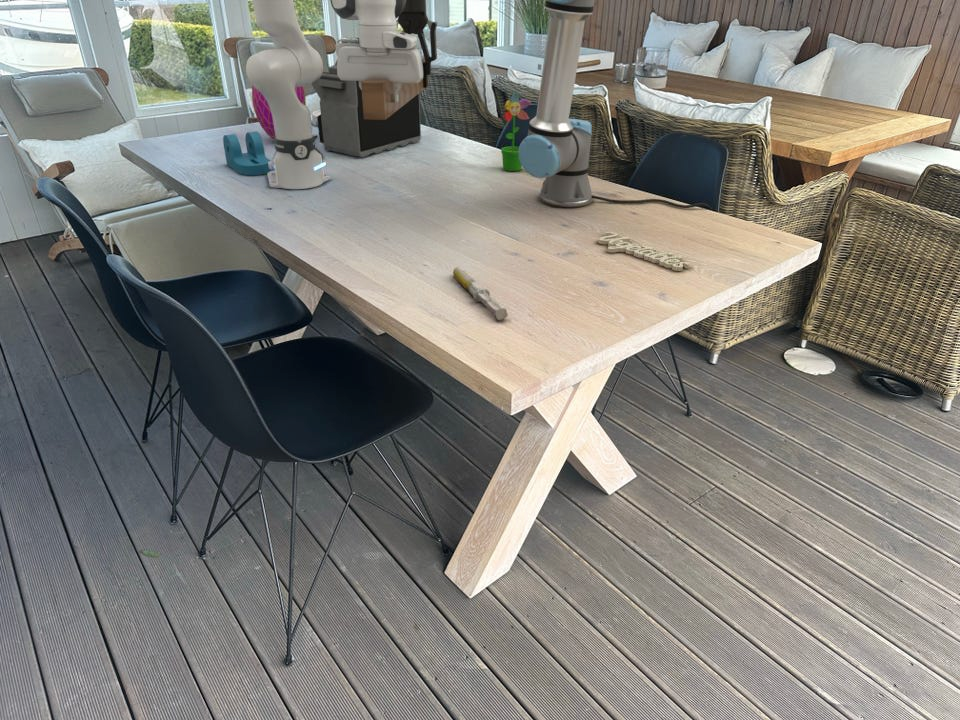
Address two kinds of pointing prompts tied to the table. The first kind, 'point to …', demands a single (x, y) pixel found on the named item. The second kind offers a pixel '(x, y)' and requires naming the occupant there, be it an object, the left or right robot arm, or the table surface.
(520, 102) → the potted flower
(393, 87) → the bar
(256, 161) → the camera mount
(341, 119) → the grey black box
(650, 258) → the decorative sign
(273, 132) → the decorative egg
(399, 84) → the left robot arm
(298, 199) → the table surface
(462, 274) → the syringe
